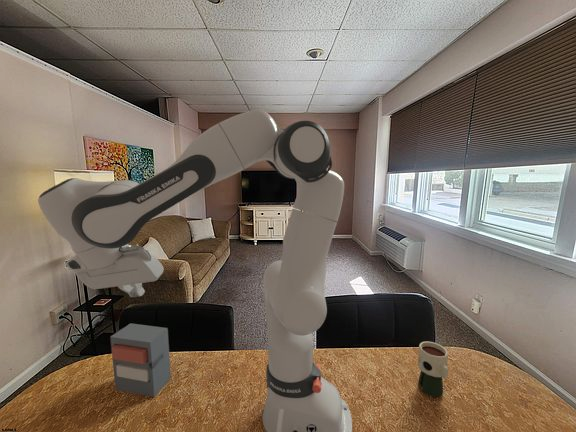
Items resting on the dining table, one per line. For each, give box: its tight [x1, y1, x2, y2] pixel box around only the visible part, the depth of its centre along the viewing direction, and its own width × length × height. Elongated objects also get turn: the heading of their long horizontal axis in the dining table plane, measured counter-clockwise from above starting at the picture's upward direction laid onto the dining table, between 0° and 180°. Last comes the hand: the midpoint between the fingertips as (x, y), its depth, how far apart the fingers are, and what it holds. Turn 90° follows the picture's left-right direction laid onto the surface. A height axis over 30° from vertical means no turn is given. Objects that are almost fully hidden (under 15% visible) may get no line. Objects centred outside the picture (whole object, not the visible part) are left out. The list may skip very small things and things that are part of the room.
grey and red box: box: [110, 323, 172, 398], centre depth 74 cm, size 7×13×16 cm, turn 78°
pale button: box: [116, 364, 150, 382], centre depth 72 cm, size 4×10×3 cm, turn 78°
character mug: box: [417, 341, 449, 398], centre depth 71 cm, size 11×7×13 cm, turn 8°
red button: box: [111, 344, 148, 364], centre depth 70 cm, size 4×10×3 cm, turn 78°
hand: (138, 294), depth 62 cm, fingers closed
